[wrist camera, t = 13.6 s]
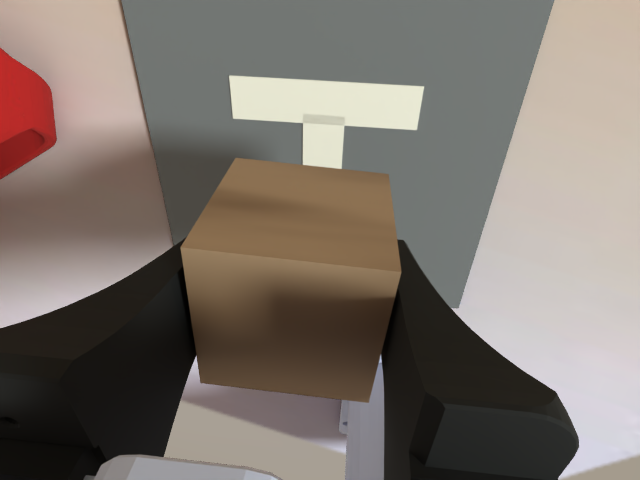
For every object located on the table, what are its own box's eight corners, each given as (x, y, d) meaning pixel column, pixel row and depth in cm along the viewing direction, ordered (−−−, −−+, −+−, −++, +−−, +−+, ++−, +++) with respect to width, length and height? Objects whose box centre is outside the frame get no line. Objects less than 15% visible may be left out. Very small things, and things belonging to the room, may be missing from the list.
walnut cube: (366, 289, 16) (368, 403, 12) (241, 275, 16) (200, 382, 12) (388, 173, 13) (401, 272, 9) (235, 157, 13) (180, 247, 9)
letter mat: (457, 305, 23) (458, 309, 23) (183, 281, 24) (181, 284, 24) (561, -33, 14) (565, -32, 14) (113, -49, 15) (109, -50, 15)
